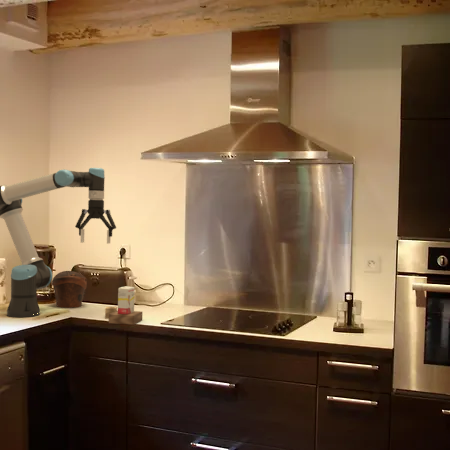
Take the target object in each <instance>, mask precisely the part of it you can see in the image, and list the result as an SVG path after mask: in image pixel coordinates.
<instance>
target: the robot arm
mask: <svg viewBox="0 0 450 450" xmlns="http://www.w3.org/2000/svg"><path fill="white" fill-rule="evenodd" d="M105 178H106V177H105V169H104V168H102V167H90V168H89V169H88V171H74V170H70V169H59V170H58V171H57V172H54V173H50V174H47V175H46V174H45V175H44V176H43V175H42V176H39V177H36V178H32V179H29V180H25V181H22V182H18V183H14V184H11V185H6V184H3V185H0V219H2V220H4V222H5V225H6V227H7V229H8V233H9V235H10V238H11V240H12V242H13V245H14V247H15V249H16V251H17V255H18V258H19V260H20V262H21V265H16V266H14V267H12V268H11V272H10V273H11V274H10V283H11V284H10V300H9V304H8V306H7V309H6V316H7V317H12V318H31V317H36V316H40V315H41V309H40V306H39V302H38V299H37V290H42V289H44V288H47V287H48V286H49V285H50V284H51V283H52V280H53V272H52V269H51V268H50V266H47V265H46V264H45V262H44V259H43V258H42V257H39V255H38V252H37V250H36V247H35V245H34V242H33V240H32V238H31V234H30V232H29V230H28V227H27V224H26V223H25V220H24V217H23V215H22V212H23V210H24V209H23V207H22V203H23V199H25V198H30V197H33V196H36V195H40V194H44V193H47V192H51V191H54V190H55V191H56V190H59V189H62V188H66V187H68V188H88V197H87V198H88V199H89V200H88V202H87V205H88V206H87V208H88V209H85V208H82V210H81V214H80V216H79V218H78V220H77V222H76V224H75V225H74V226H75V228H77V229H78V235H79V236H80V243H82V244H83V243H85V229H84V228H85V226H87V224H88V223H89V221H91V220H92V219H94V220H95V219H98V220H99V219H100V220H101V221H102V222H103V224H104V225H105V227H106V228H107V230H106V244H108V245H109V244H111V238H112V237H113V230H115V229H117V226H116V224H115V221H114V219H113V217H112V215H111V210H110V209H106V210H105V200H104V199H105ZM86 214H88V215H87V216H86ZM104 214H105V215H106V217H107V218H106V217H105V216H104ZM85 217H86V218H85ZM84 218H85V219H84ZM107 219H108V220H107ZM39 312H40V313H39ZM37 313H38V314H37ZM33 314H34V315H33Z"/></svg>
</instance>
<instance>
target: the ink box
mask: <svg viewBox="0 0 450 450" xmlns="http://www.w3.org/2000/svg"><path fill="white" fill-rule="evenodd" d="M135 289H136V287H135V286H129V285H126V286H121V287H118V289H117V291H118V293H117V311H118V314H130V313H132V312H134V311H135V294H136V293H135Z"/></svg>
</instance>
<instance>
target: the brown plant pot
mask: <svg viewBox="0 0 450 450" xmlns="http://www.w3.org/2000/svg"><path fill="white" fill-rule="evenodd" d="M50 284H51V286H53V292H54V297H55V302H56V304H55V305H56V307H58V308H67V309H68V308H70V309H73V308H78V307H81V306H82V305H83V304H82V303H83V300H84V297H85V294H86V290H87V287H88V285H87V284H88V280H87V278H86V276H84V275H83V274H82V273H80V272H78V271H73V270H63V271H60V272H58V273H57V274H55V275H54V277H52V280H51V282H50Z"/></svg>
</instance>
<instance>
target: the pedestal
mask: <svg viewBox="0 0 450 450" xmlns="http://www.w3.org/2000/svg"><path fill="white" fill-rule="evenodd" d="M143 313H144V312H143V311H137V310H134V312H132V313H130V314H118V310H117V311H115V312H113V313H111V314H109V319H108V324H117V325H131V326H132V325H133V326H134V325H136V324H137V323H139V322H141V321H143Z"/></svg>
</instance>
